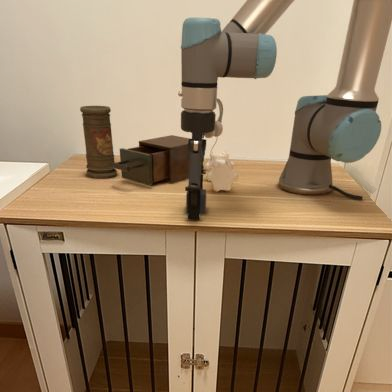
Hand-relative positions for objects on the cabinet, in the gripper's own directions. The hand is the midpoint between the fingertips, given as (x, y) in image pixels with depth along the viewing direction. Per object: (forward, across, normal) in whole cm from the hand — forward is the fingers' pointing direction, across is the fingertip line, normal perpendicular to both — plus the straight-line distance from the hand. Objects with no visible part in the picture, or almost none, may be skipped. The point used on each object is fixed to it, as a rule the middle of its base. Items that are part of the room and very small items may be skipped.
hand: (195, 210), depth 100 cm
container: (+1, -30, -30) cm, 42 cm away
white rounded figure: (0, -23, +6) cm, 24 cm away
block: (0, 0, 0) cm, 0 cm away
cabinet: (0, -33, -9) cm, 34 cm away
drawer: (-1, -23, -16) cm, 28 cm away
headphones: (0, -43, +3) cm, 43 cm away
